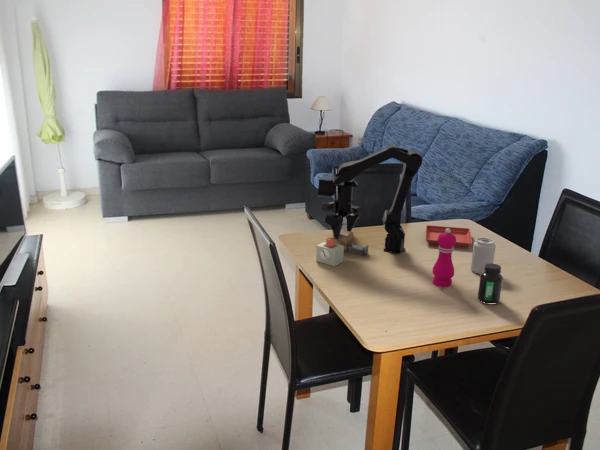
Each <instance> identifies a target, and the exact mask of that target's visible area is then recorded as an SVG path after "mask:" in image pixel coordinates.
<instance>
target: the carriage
mask: <svg viewBox="0 0 600 450" xmlns="http://www.w3.org/2000/svg"><path fill="white" fill-rule="evenodd" d="M332 238H334V239H335V237H334V234H333V233H332ZM353 243H354V232H353V231H351V232H350V231H346V230H342V229H341V232H340V235H339V237H338V239H335V244H339V245H342V246H344V252H348V251H347V246H349V245H350V244H353ZM353 245H354V244H353Z"/></svg>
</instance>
